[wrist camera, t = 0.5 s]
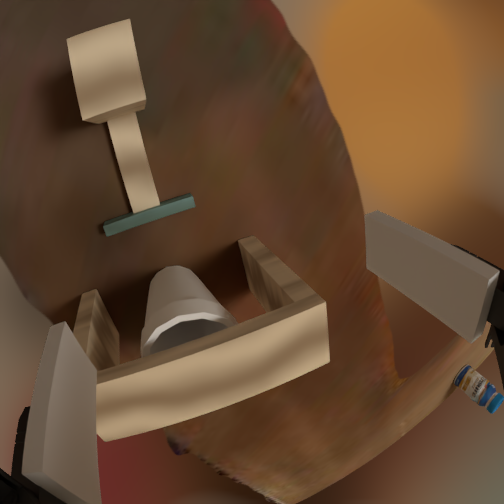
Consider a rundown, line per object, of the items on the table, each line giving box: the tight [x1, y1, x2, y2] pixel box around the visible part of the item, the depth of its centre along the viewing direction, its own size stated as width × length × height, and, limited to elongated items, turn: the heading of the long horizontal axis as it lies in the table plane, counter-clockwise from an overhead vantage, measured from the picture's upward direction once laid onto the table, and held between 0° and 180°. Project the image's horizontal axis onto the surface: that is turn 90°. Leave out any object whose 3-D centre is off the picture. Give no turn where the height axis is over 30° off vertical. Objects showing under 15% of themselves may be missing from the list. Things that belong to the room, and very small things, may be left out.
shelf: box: [73, 235, 330, 442], centre depth 30 cm, size 7×22×16 cm, turn 102°
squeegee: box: [67, 19, 195, 237], centre depth 25 cm, size 18×10×10 cm, turn 12°
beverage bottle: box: [454, 365, 504, 413], centre depth 75 cm, size 8×8×20 cm
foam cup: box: [140, 266, 238, 358], centre depth 32 cm, size 10×9×13 cm
